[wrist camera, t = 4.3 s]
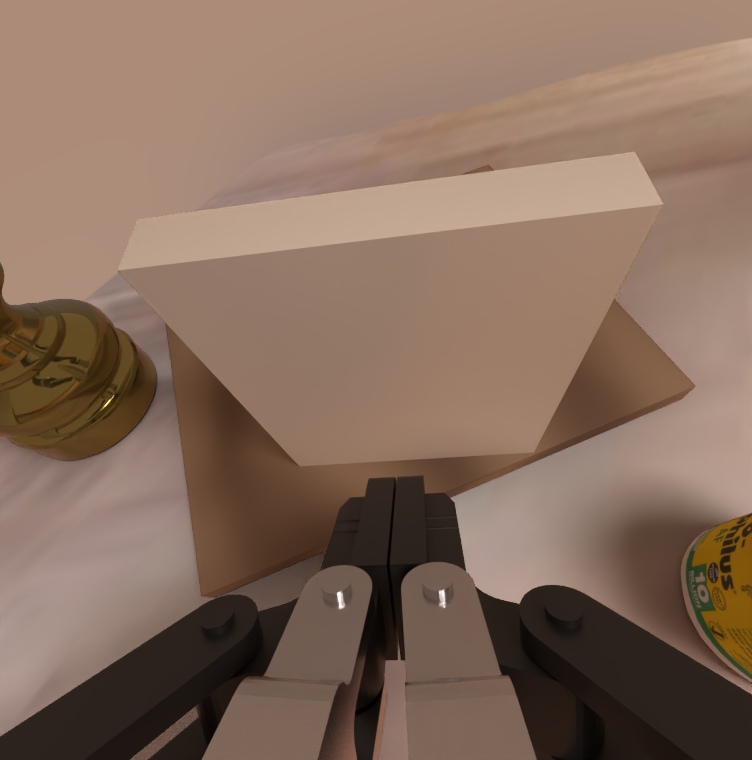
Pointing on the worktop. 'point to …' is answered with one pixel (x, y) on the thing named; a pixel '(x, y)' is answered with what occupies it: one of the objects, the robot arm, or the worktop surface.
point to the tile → (402, 304)
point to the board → (341, 481)
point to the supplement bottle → (722, 591)
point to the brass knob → (69, 378)
